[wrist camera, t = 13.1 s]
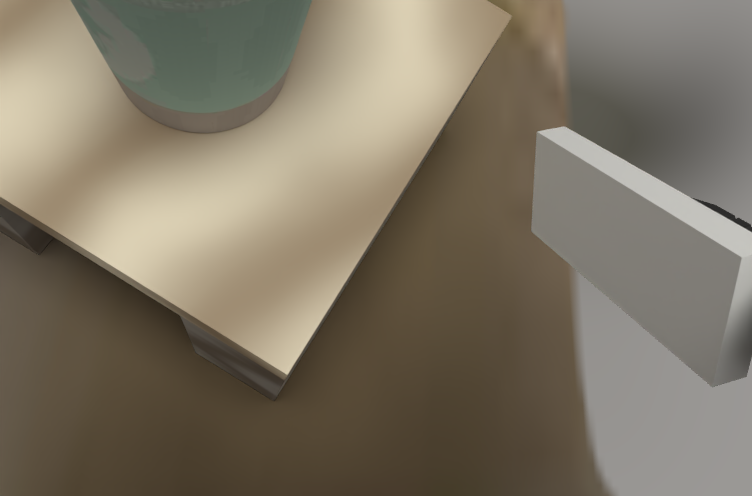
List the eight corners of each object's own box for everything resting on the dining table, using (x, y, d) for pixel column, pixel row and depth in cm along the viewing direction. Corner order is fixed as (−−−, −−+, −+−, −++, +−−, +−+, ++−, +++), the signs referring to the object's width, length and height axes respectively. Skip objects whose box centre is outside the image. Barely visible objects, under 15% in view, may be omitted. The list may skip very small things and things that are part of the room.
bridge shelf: (-40, 206, 30) (-158, 98, 21) (179, -37, 36) (158, -204, 27) (274, 401, 30) (287, 374, 21) (444, 128, 36) (512, 16, 27)
